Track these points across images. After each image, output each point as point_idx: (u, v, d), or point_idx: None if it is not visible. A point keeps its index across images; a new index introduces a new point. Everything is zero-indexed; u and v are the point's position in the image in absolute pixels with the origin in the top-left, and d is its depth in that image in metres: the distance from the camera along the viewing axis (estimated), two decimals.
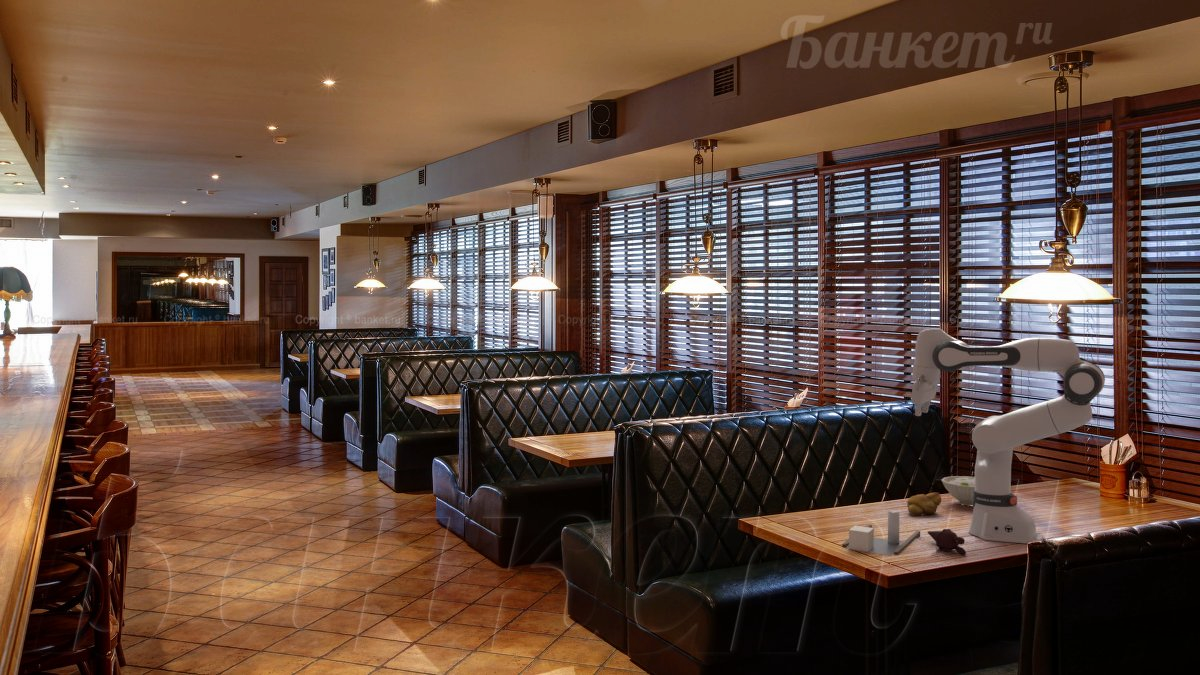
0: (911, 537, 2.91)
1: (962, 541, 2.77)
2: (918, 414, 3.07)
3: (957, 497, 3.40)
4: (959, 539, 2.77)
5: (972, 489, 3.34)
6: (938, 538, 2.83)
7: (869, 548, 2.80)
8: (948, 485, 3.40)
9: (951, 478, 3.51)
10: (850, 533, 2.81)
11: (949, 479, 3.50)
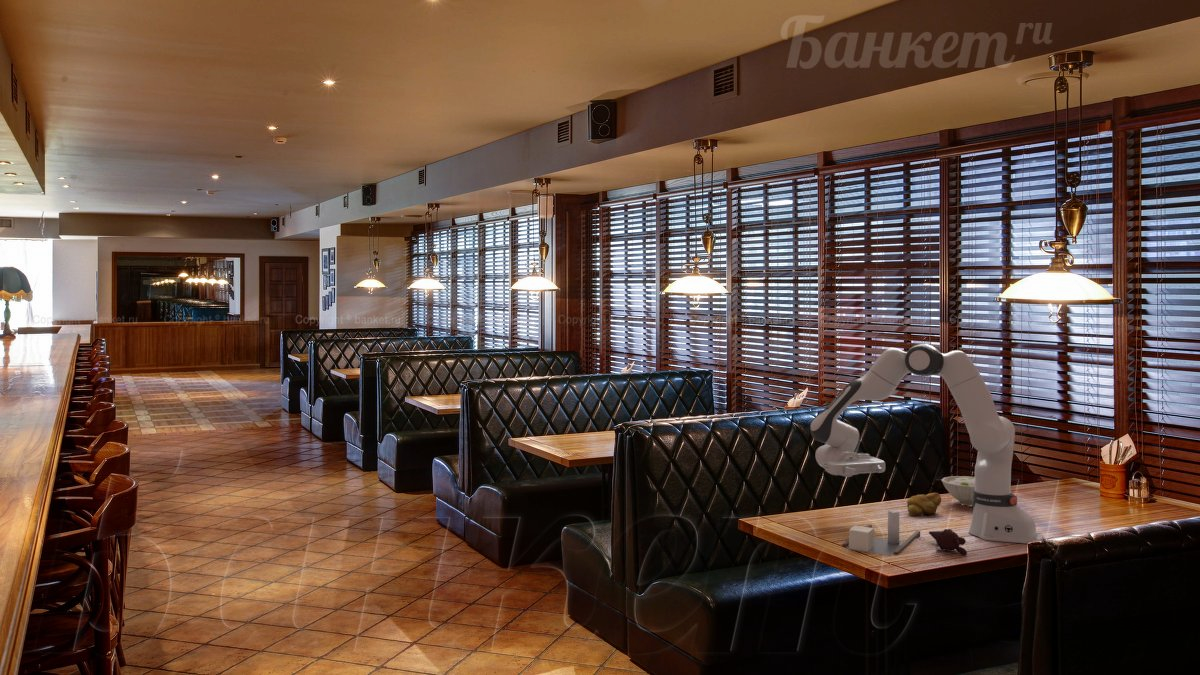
0: (911, 537, 2.91)
1: (963, 541, 2.77)
2: (853, 471, 3.01)
3: (957, 497, 3.40)
4: (960, 539, 2.77)
5: (972, 488, 3.34)
6: (939, 538, 2.82)
7: (869, 548, 2.80)
8: (948, 485, 3.40)
9: (951, 478, 3.51)
10: (850, 533, 2.81)
11: (949, 479, 3.50)
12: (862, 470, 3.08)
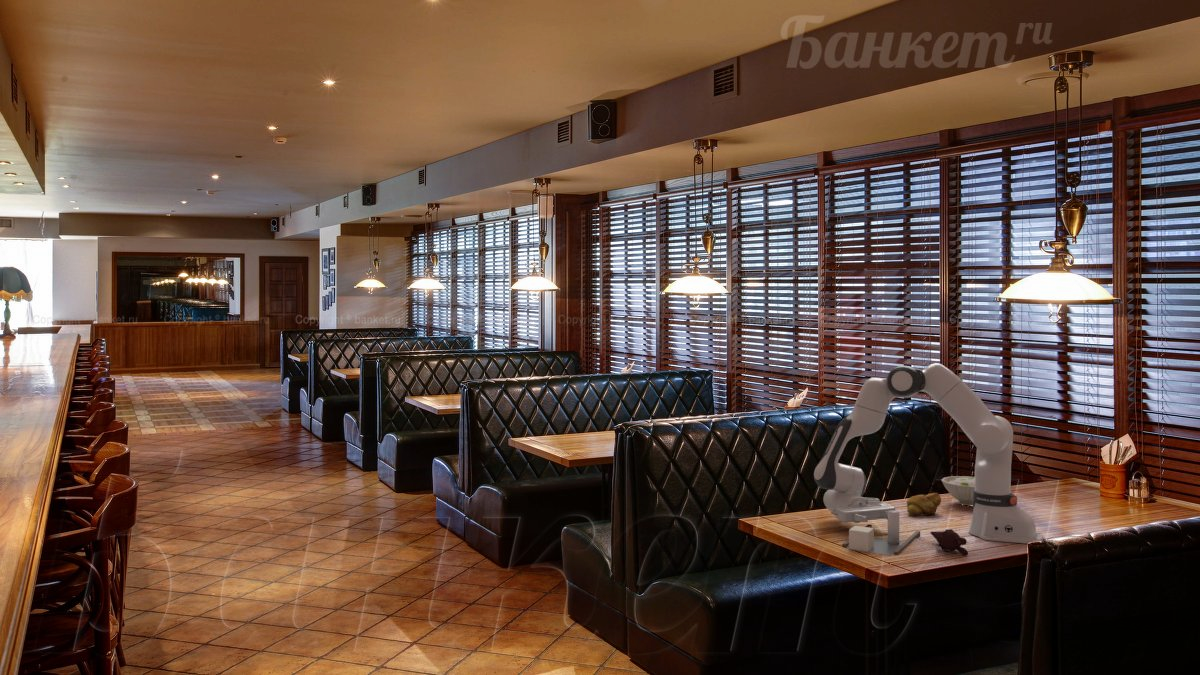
0: (911, 537, 2.91)
1: (964, 541, 2.76)
2: (863, 518, 2.95)
3: (957, 497, 3.40)
4: (961, 539, 2.77)
5: (972, 489, 3.34)
6: (940, 538, 2.82)
7: (869, 548, 2.80)
8: (948, 485, 3.40)
9: (951, 478, 3.51)
10: (850, 533, 2.81)
11: (949, 479, 3.50)
12: (872, 516, 3.02)
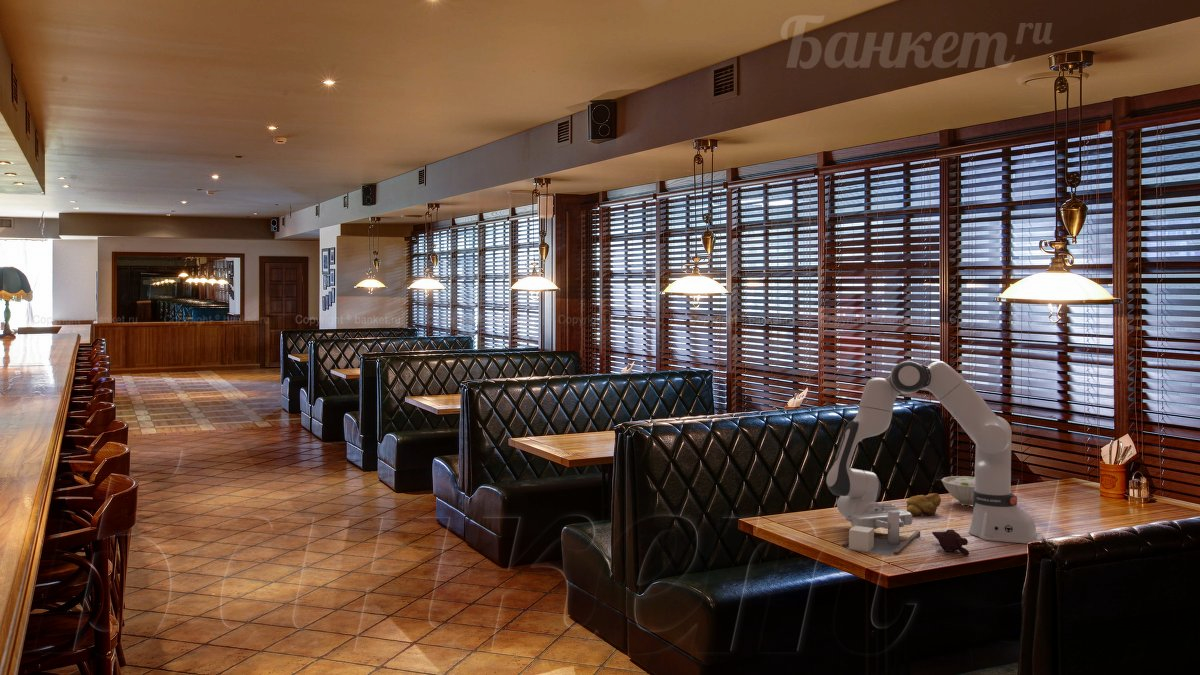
0: (911, 537, 2.91)
1: (965, 542, 2.76)
2: (885, 525, 2.87)
3: (957, 497, 3.40)
4: (962, 540, 2.77)
5: (972, 489, 3.34)
6: (941, 538, 2.82)
7: (869, 548, 2.80)
8: (948, 485, 3.40)
9: (951, 478, 3.51)
10: (850, 533, 2.81)
11: (949, 479, 3.50)
12: None
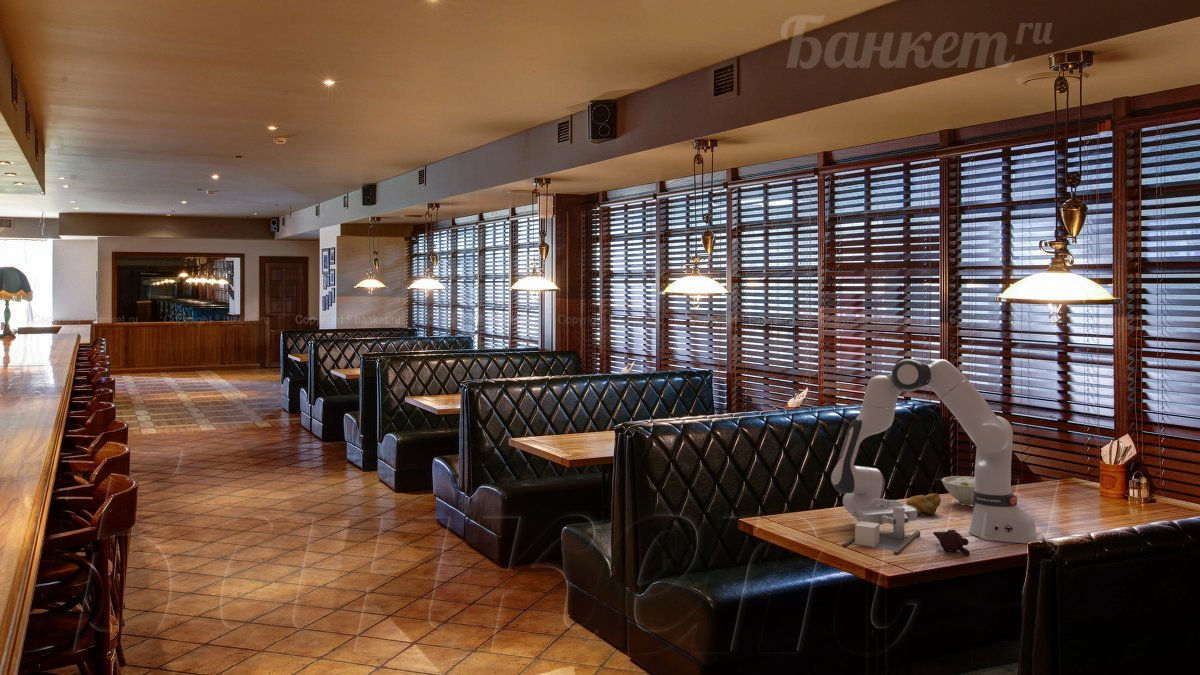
0: (911, 537, 2.91)
1: (966, 542, 2.76)
2: (891, 520, 2.92)
3: (957, 497, 3.40)
4: (963, 540, 2.76)
5: (972, 489, 3.34)
6: (942, 539, 2.82)
7: (875, 543, 2.85)
8: (948, 485, 3.40)
9: (951, 478, 3.51)
10: (856, 528, 2.87)
11: (949, 479, 3.50)
12: None
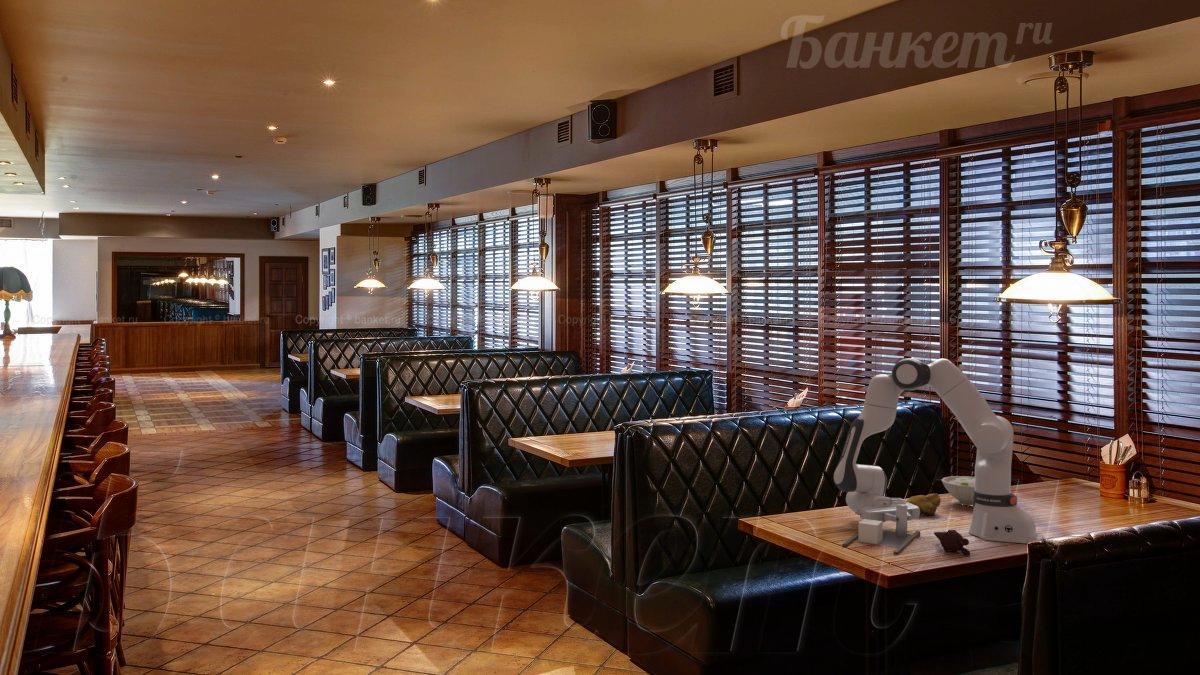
0: (911, 537, 2.91)
1: (966, 542, 2.76)
2: (893, 518, 2.95)
3: (957, 497, 3.40)
4: (963, 540, 2.76)
5: (972, 489, 3.34)
6: (943, 539, 2.82)
7: (878, 540, 2.88)
8: (948, 485, 3.40)
9: (951, 478, 3.51)
10: (859, 526, 2.90)
11: (949, 479, 3.50)
12: None
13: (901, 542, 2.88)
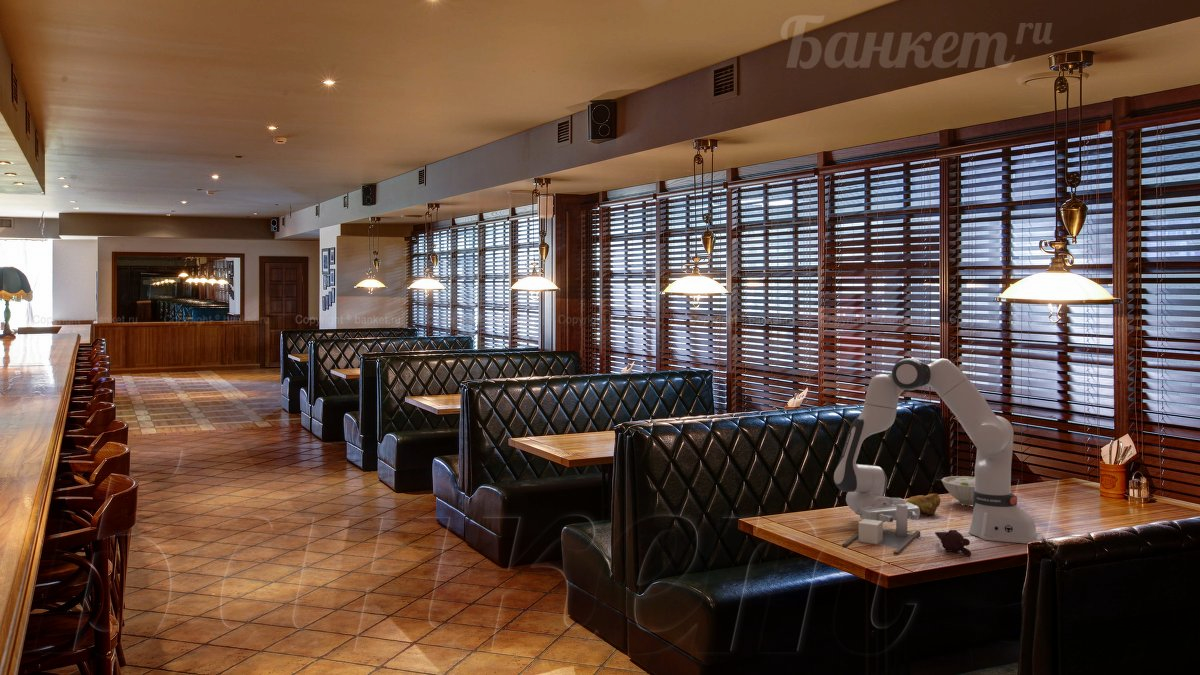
0: (911, 537, 2.91)
1: (967, 542, 2.75)
2: (888, 518, 2.94)
3: (957, 497, 3.40)
4: (964, 540, 2.76)
5: (972, 489, 3.34)
6: (944, 539, 2.81)
7: (878, 540, 2.88)
8: (948, 485, 3.40)
9: (951, 478, 3.51)
10: (860, 526, 2.90)
11: (949, 479, 3.50)
12: None
13: (901, 542, 2.88)
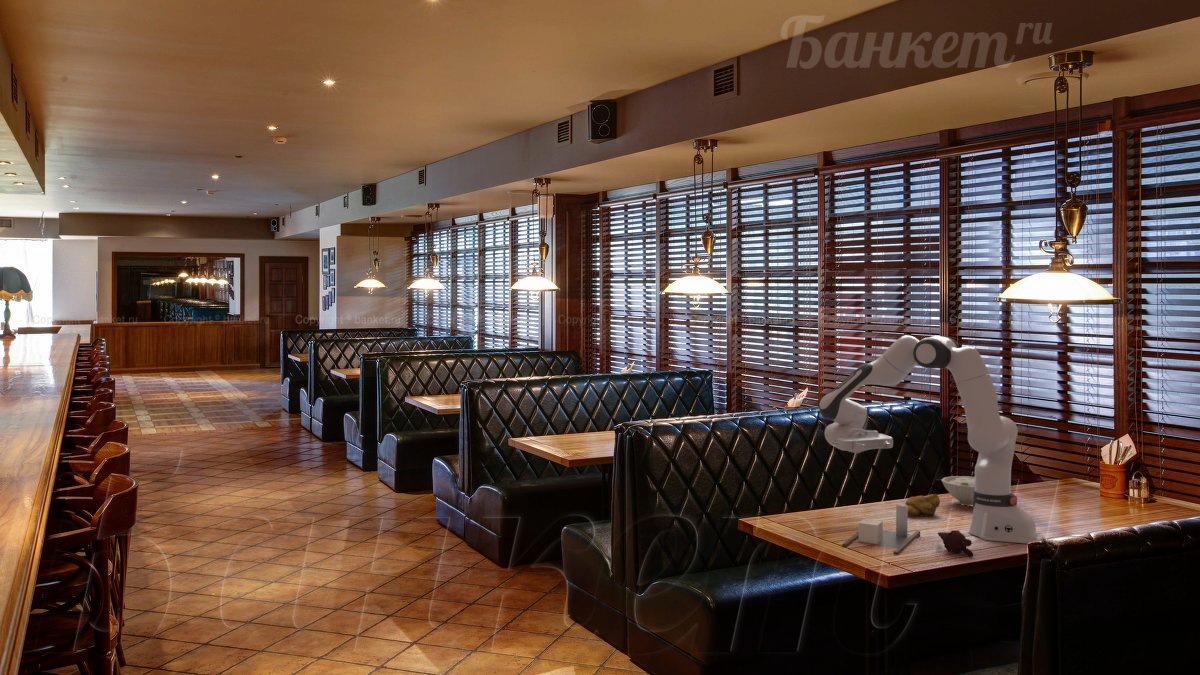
0: (911, 537, 2.91)
1: (969, 543, 2.75)
2: (862, 446, 3.10)
3: (957, 497, 3.40)
4: (966, 541, 2.76)
5: (972, 489, 3.34)
6: (946, 539, 2.81)
7: (878, 540, 2.88)
8: (948, 485, 3.40)
9: (951, 478, 3.51)
10: (860, 526, 2.90)
11: (949, 479, 3.50)
12: (871, 446, 3.16)
13: (901, 542, 2.88)
